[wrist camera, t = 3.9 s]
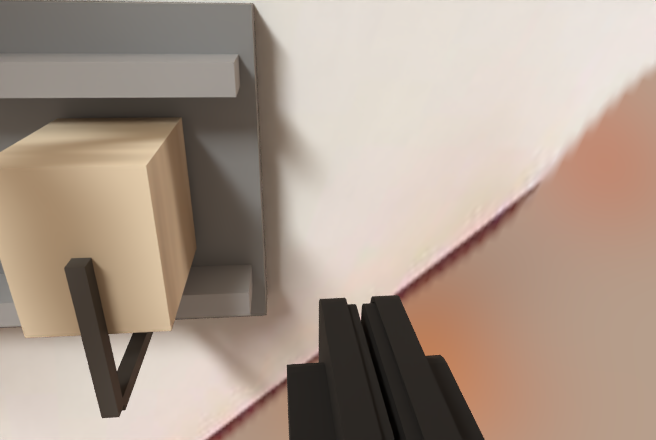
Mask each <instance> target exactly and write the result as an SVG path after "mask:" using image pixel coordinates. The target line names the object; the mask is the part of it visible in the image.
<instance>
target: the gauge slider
mask: <svg viewBox="0 0 656 440" xmlns="http://www.w3.org/2000/svg"><path fill="white" fill-rule="evenodd" d="M196 248H197V247H196V238H195V230H194V221H193V212H192V204H191V195H190V186H189V178H188V169H187V160H186V152H185V143H184V134H183V126H182V117H172V118H57V119H55V120H54V121H52V122H50V123H49V124H47V125H45V126H44V127H42V128H40V129H39V130H37V131H35V132H33V133H32V134H30V135H28V136H27V137H25V138H23V139H22V140H20V141H18V142H16V143H15V144H13V145H11V146H10V147H8V148H6V149H5V150H3V151H1V152H0V260H1V263H2V266H3V270H4V273H5V276H6V279H7V282H8V285H9V289H10V292H11V295H12V298H13V301H14V304H15V308H16V311H17V314H18V317H19V320H20V323H21V327H22V330H23V333H24V336H25V338H36V337H56V336H76V335H81V337H82V341H83V345H84V349H85V353H86V357H87V361H88V365H89V369H90V373H91V377H92V381H93V385H94V389H95V393H96V397H97V401H98V404H99V408H100V412H101V416H102V418H112V417H119V416H120V414H121V411H122V410H126V407H127V404H128V401H129V398H130V396H131V393H132V390H133V387H134V384H135V382H136V379H137V376H138V373H139V370H140V368H141V365H142V362H143V359H144V356H145V354H146V351H147V348H148V345H149V342H150V340H151V337H152V334H153V332H158V331H171V330H172V327H173V324H174V320H175V317H176V314H177V311H178V307H179V304H180V301H181V297H182V294H183V291H184V288H185V284H186V281H187V278H188V274H189V271H190V268H191V265H192V261H193V258H194V255H195V251H196ZM117 333H133V334H132V337H131V339H130V342H129V344H128V347H127V349H126V351H125V354H124V356H123V359H122V361H121V363H120V366H119V368H118V371H116V366H115V362H114V357H113V353H112V348H111V344H110V339H109V335H108V334H117Z"/></svg>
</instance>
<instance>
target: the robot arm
mask: <svg viewBox="0 0 656 440" xmlns="http://www.w3.org/2000/svg"><path fill="white" fill-rule="evenodd" d="M287 390H288V418H289V440H484V438H483V436H482V434H481V431H480V429H479V427H478V425H477V424H476V421H475V419H474V417H473V415H472V413H471V411H470V409H469V407H468V405H467V403H466V401H465V399H464V397H463V395H462V393H461V391H460V389H459V387H458V385H457V383H456V381H455V379H454V377H453V375H452V373H451V371H450V369H449V366H448V365H447V363H446V361H445V359H444V358H443V357H442V356H441V355H433V356H425V354H424V352H423V350H422V347H421V345H420V343H419V341H418V338H417V336H416V334H415V332H414V329H413V327H412V325H411V322H410V320H409V318H408V316H407V314H406V311H405V309H404V307H403V304H402V302H401V300H400V298H399V296H397V295H393V296H373V297H372V298H371V303H369V304H363V305H362V314H361V320H360V317H359V313H358V310H357V306H356V305H355V304H350V305H347V301H346V298H333V299H320V300H319V363H306V364H291V365H287Z"/></svg>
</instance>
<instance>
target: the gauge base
mask: <svg viewBox="0 0 656 440" xmlns="http://www.w3.org/2000/svg"><path fill="white" fill-rule="evenodd" d="M172 117H182V126H183V134H184V143H185V152H186V160H187V169H188V178H189V186H190V195H191V204H192V212H193V221H194V230H195V238H196V247H197V248H196V251H195V255H194V258H193V261H192V265H191V268H190V271H189V274H188V278H187V281H186V284H185V288H184V291H183V294H182V297H181V301H180V304H179V307H178V311H177V314H176V317H175V320H177V319H198V318H220V317H241V316H262V315H266V313H267V285H266V264H265V242H264V221H263V200H262V178H261V157H260V135H259V114H258V93H257V71H256V50H255V29H254V7H253V3H189V2H115V1H41V0H0V152H1V151H3V150H5V149H6V148H8V147H10V146H11V145H13V144H15V143H16V142H18V141H20V140H22V139H23V138H25V137H27V136H28V135H30V134H32V133H33V132H35V131H37V130H39V129H40V128H42V127H44V126H45V125H47V124H49V123H50V122H52V121H54V120H55V119H57V118H172ZM7 327H21V323H20V320H19V317H18V314H17V311H16V308H15V304H14V301H13V298H12V295H11V292H10V289H9V285H8V282H7V279H6V276H5V273H4V270H3V266H2V263H1V260H0V328H7Z"/></svg>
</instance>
